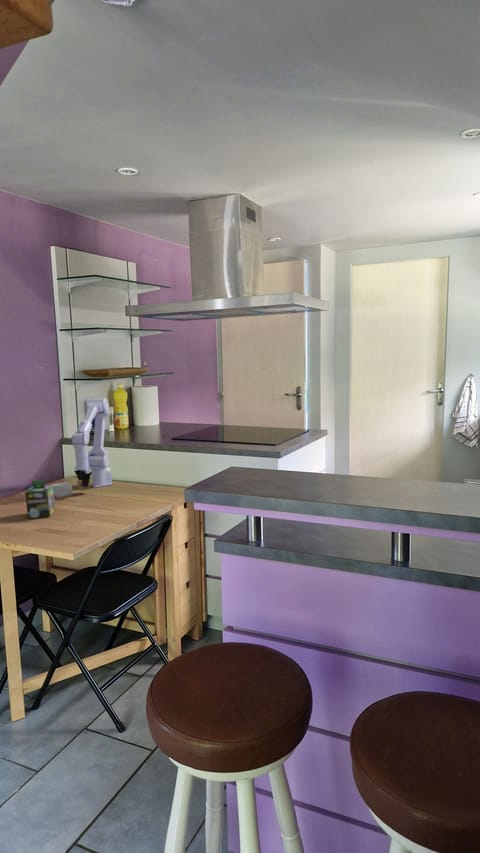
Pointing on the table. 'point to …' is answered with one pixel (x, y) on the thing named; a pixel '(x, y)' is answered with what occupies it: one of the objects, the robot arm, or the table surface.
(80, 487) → the walnut block
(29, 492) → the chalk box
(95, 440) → the robot arm
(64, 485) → the small box
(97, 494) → the table surface
